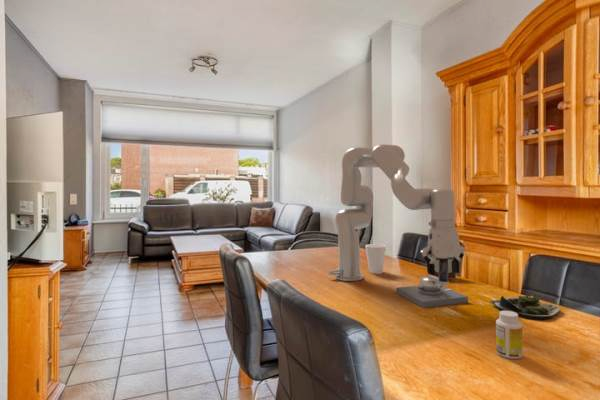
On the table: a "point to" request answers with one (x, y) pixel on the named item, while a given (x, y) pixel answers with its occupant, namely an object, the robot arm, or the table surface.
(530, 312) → the salad plate
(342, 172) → the robot arm
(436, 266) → the food container
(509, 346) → the supplement bottle
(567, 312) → the table surface
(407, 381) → the table surface
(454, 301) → the post base
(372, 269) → the foam cup
